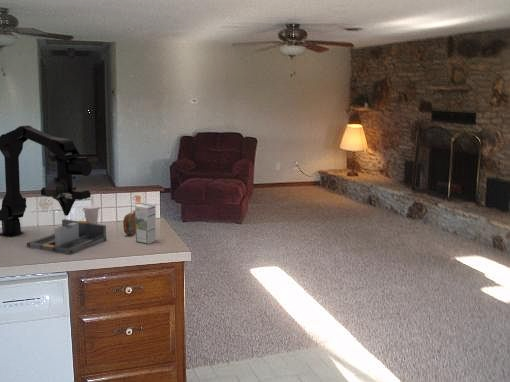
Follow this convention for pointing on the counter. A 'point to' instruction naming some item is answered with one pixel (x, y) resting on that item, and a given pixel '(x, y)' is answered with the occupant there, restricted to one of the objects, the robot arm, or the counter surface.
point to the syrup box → (145, 223)
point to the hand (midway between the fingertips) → (66, 215)
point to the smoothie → (91, 213)
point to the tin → (130, 223)
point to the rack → (85, 234)
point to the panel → (66, 233)
